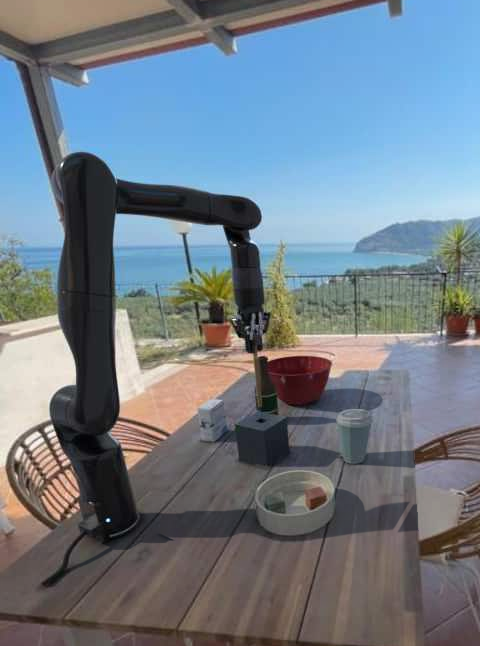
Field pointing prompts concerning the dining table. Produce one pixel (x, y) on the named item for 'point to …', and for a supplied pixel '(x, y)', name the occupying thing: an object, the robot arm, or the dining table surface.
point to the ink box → (212, 420)
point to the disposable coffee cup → (354, 434)
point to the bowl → (295, 503)
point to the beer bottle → (266, 389)
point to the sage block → (275, 503)
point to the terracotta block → (315, 498)
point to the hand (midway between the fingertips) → (254, 351)
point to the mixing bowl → (299, 378)
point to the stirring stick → (257, 367)
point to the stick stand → (262, 438)
